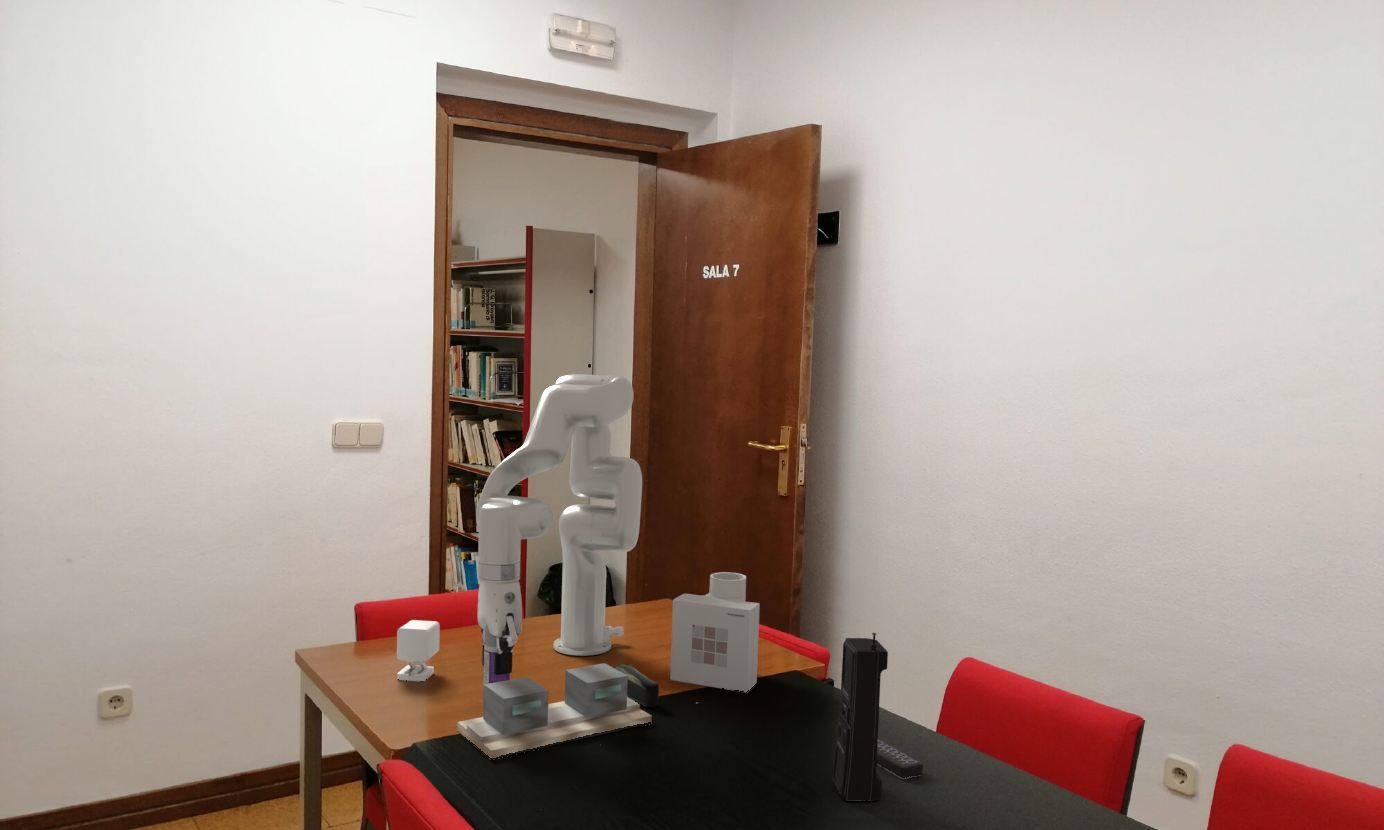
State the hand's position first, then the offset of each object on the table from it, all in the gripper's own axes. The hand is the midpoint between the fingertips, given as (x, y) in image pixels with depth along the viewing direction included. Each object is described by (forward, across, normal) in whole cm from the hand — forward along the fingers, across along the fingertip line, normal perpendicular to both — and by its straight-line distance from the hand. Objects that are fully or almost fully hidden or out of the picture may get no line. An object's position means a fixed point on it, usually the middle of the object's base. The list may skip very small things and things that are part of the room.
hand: (496, 668), depth 179 cm
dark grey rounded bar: (+7, -9, -24) cm, 26 cm away
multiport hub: (+7, -55, -43) cm, 70 cm away
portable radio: (+7, -61, -31) cm, 69 cm away
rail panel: (+6, -16, -4) cm, 18 cm away
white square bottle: (+7, -7, -47) cm, 48 cm away
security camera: (+7, +22, +7) cm, 24 cm away
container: (+7, 0, 0) cm, 7 cm away
